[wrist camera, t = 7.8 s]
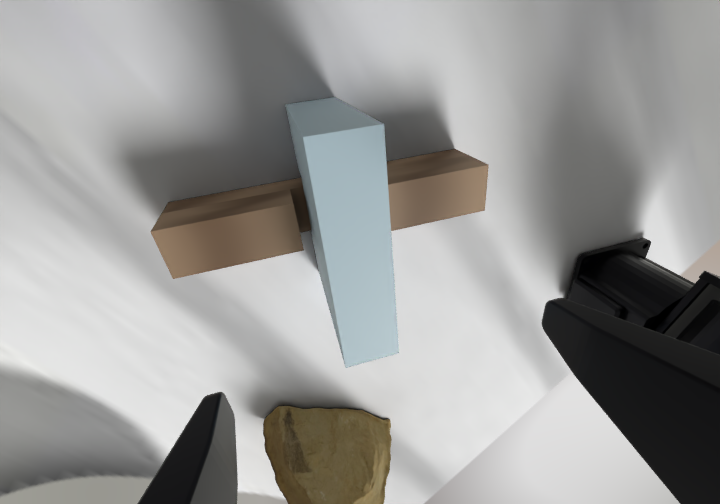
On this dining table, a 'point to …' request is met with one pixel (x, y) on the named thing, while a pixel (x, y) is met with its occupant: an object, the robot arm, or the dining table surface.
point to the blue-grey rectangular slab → (349, 222)
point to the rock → (328, 455)
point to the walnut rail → (290, 214)
